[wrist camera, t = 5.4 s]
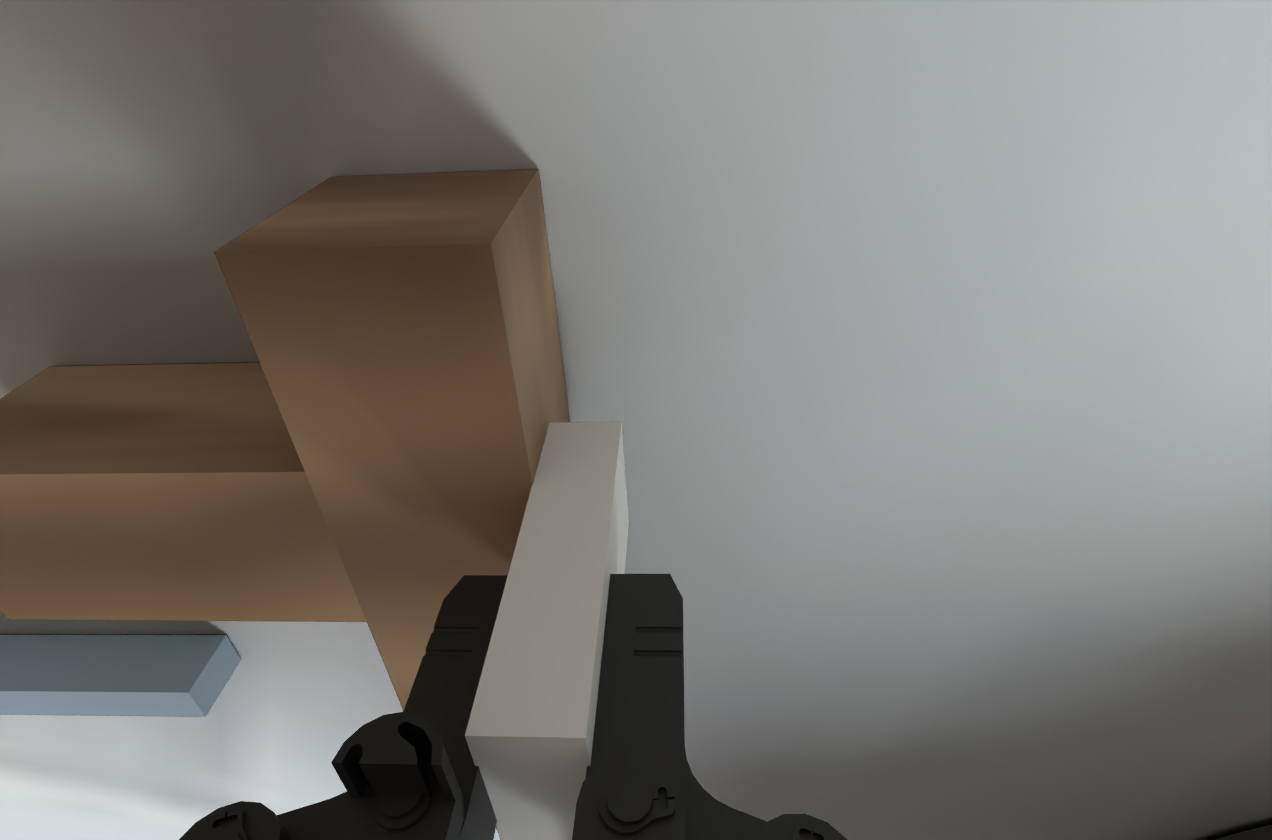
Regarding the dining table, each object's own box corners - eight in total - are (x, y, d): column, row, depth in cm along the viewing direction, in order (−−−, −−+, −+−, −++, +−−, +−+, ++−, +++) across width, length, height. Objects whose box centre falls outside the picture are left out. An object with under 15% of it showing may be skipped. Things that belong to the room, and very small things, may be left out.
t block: (592, 601, 19) (575, 733, 16) (193, 599, 20) (99, 724, 17) (538, 168, 13) (490, 243, 9) (-59, 191, 13) (-296, 267, 10)
